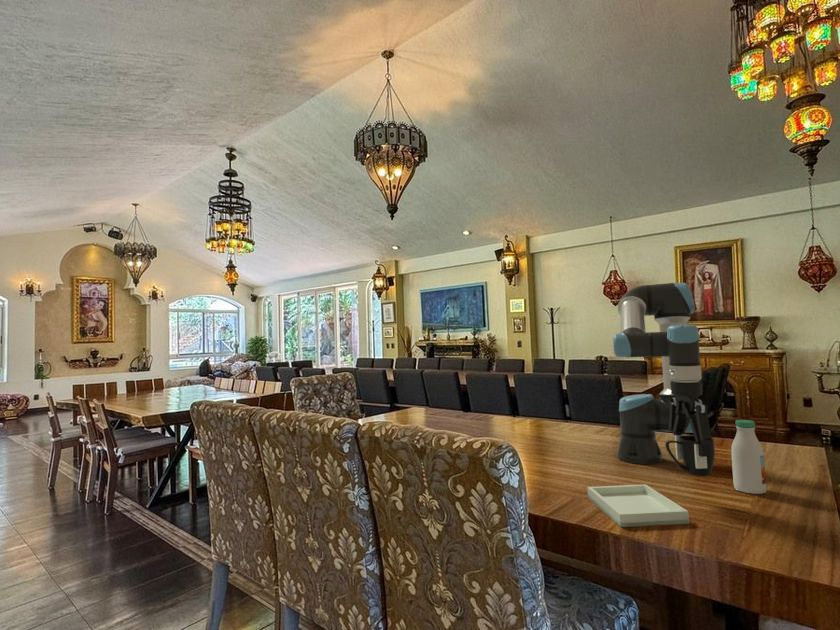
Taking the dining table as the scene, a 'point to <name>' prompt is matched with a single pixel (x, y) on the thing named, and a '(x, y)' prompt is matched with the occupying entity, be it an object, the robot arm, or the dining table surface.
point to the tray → (637, 506)
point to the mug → (692, 455)
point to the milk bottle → (748, 460)
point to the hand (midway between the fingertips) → (691, 463)
